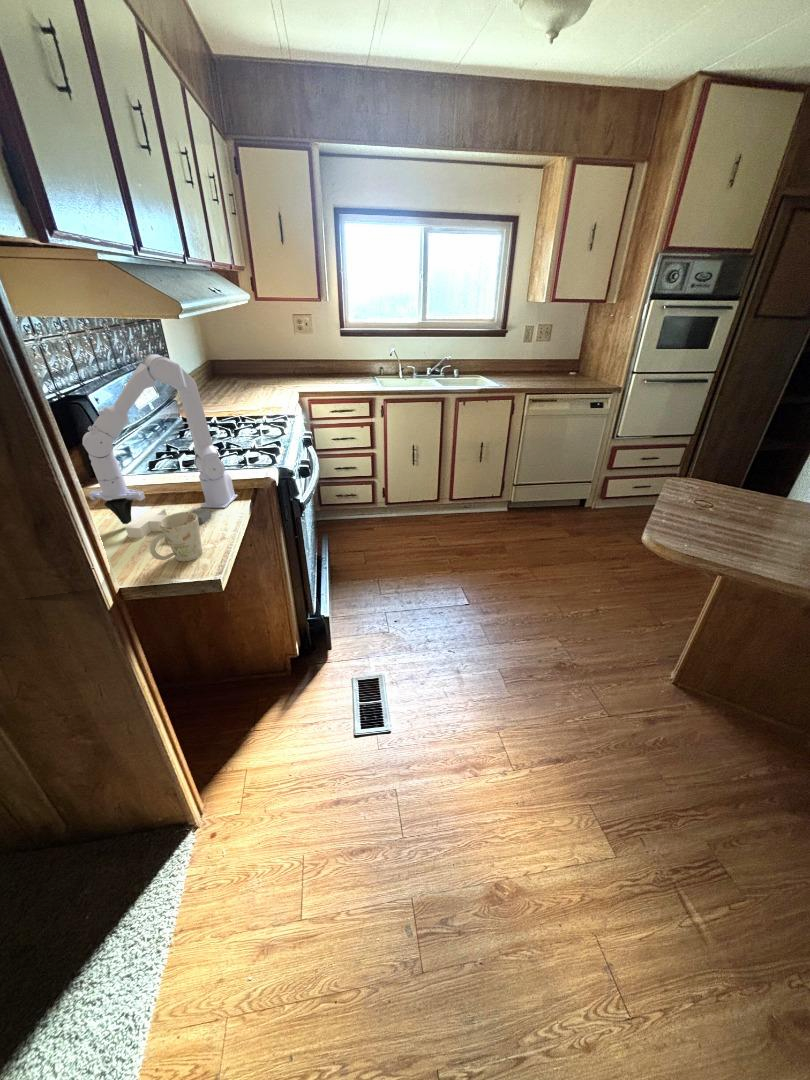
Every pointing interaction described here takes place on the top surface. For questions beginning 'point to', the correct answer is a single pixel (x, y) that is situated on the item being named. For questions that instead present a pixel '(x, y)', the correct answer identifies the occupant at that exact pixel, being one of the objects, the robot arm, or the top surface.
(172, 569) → the top surface
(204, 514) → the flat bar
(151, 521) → the t block
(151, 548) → the mug
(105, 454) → the robot arm
